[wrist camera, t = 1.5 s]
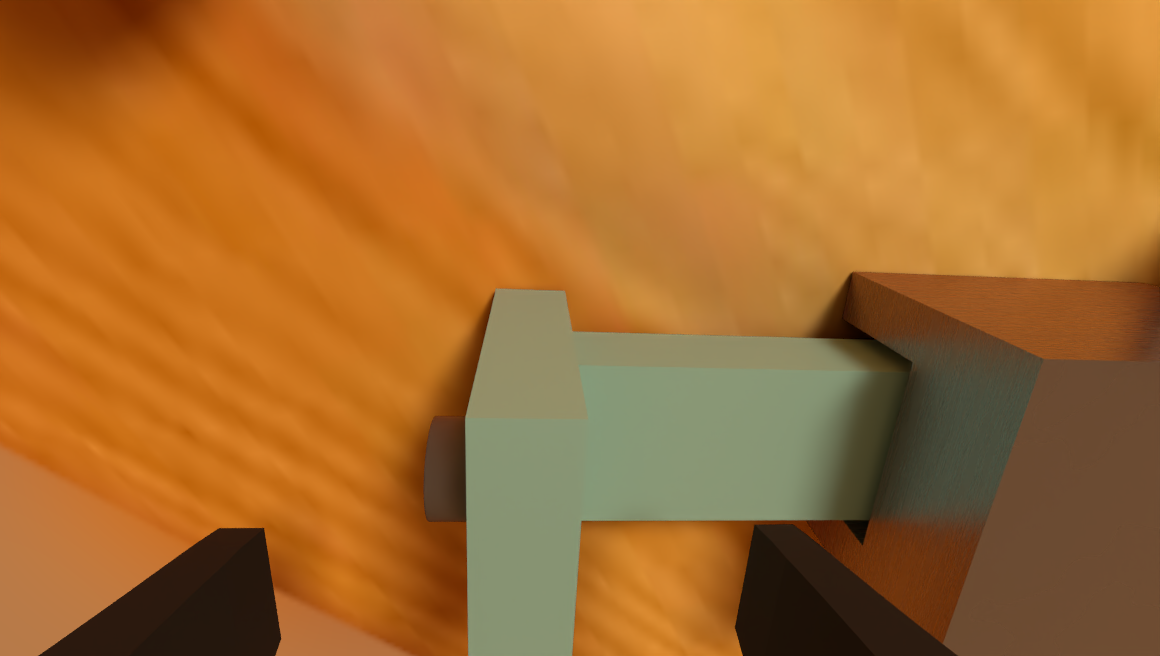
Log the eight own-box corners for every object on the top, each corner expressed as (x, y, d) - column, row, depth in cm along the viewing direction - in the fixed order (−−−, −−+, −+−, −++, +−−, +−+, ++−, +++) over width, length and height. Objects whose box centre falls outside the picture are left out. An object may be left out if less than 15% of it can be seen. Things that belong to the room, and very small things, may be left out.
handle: (1000, 305, 14) (1321, 429, 8) (940, 493, 16) (1170, 700, 10) (452, 287, 13) (385, 417, 7) (456, 492, 15) (405, 727, 9)
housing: (1142, 282, 14) (1481, 369, 9) (1051, 511, 17) (1282, 682, 12) (853, 271, 14) (1043, 358, 9) (799, 511, 16) (925, 693, 11)
